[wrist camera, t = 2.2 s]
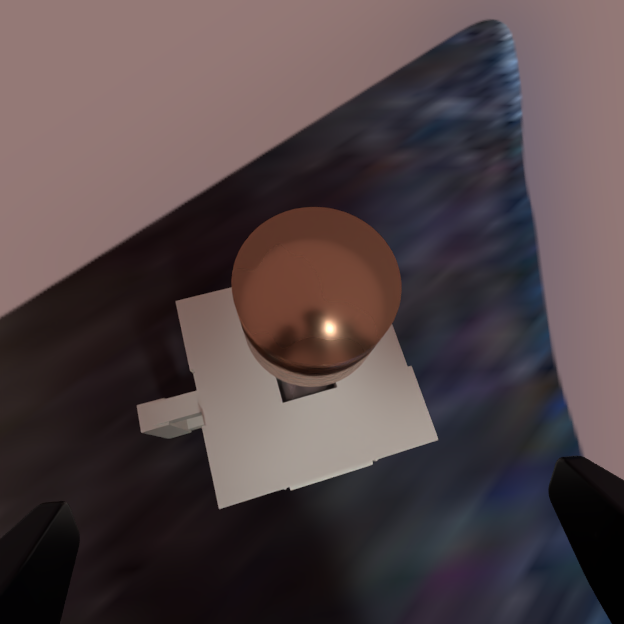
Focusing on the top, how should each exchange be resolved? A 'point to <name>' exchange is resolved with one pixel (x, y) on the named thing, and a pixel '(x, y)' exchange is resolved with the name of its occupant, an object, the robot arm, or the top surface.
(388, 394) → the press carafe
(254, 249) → the plunger
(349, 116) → the top surface
